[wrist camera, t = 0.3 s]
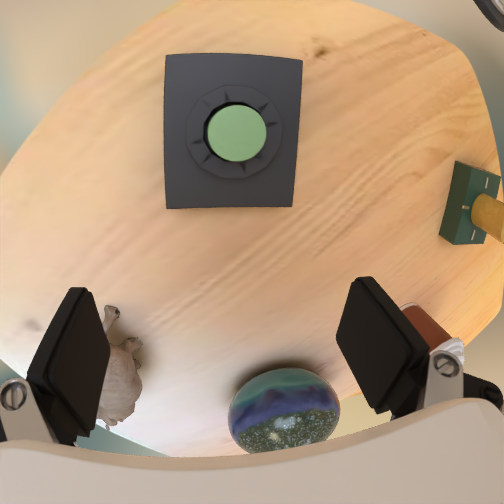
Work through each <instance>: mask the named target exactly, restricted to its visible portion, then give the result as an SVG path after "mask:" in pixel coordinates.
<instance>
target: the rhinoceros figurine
mask: <svg viewBox="0 0 504 504" xmlns="http://www.w3.org/2000/svg"><path fill="white" fill-rule="evenodd" d="M115 309H117V308H115V307H108V306H107V305H106V306H105V308H104V310H105V320H104V322H103V323H102V325H103V328H104V331H105V334H106V337H107V333H108V332H109V330H110V328H111V325H112V323H113V322H114V320H115V319H116V318H119V313H120V312H119V310H118V314H115ZM109 345H110V349H111V354H110V359H109V363H108V367H107V371H106V375H105V379H104V383H103V388H102V392H101V397H100V402H99V407H98V412H97V417H96V419H101V418H102V420H103V421H104V422H105V423H106V424H108V425H110V426H114V425H117V421H120V422H123V420H124V419H126V418H127V417H128V416H130V415H131V414H132V413H133V412H134V408H135V402H136V401H137V399H138V398H139V396H140V394H141V391H142V382H141V379H140V377H139V375H138V374H137V373H136V369H139V368H140V367H141V366H140V365H139V363H138V361H137V360H136V359H135V360H133V357H132V353H133V352H134V351H135V350H138V349H140V348H141V345H143V344H142V342H141V341H140V340H138V337H137V338H128V339H127V340H125V341H124V342H123V343H122V345H121V346H120V347H117V346H115V345H112V344H110V343H109ZM108 425H106V429H107V430H108V431H109V430H110V429H109V426H108Z"/></svg>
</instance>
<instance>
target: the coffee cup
mask: <svg viewBox="0 0 504 504" xmlns="http://www.w3.org/2000/svg"><path fill="white" fill-rule="evenodd" d="M399 309H400V310H401V311H402V312H403V313H404V315H405V316H406V317H407V318H408V320H409V321H410V322H411V323H412V325H413V326H414V327H415V328H416V330H417V331H418V332H419V333H420V335H421V336H422V337H423V338H424V340H425V341H426V342H427V344H428V345H429V346H430V347H431V348H430V350H429V351H428V353H429V354H430V355H431V354H432V353H433V352H435V351H437V350H445V351H448V352H450V353H452V354H454V355H455V356H456V357H457V358H458V359H459V360H460V362H461V364H462V366H463V364H464V360H465V356H464V355H463V349H464V343H463V342H462V340H461V339H460V338H459V337H458V338H452V337H451V336H450V335H449V334H448V333H447V332H446V331H445V330H444V329H443V328H442V327H441V326H440V325H439V324H438V323H436V322H435V321H434V320H433V319H432V318H431V317H430V316H429V315H428V314H427V313H426V312H425V311H424V310H423V309H421V308H420V306H419V305H417V304H416V303H408V304H406V305H403V306H402V307H400V308H399Z"/></svg>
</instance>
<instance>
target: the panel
mask: <svg viewBox="0 0 504 504" xmlns="http://www.w3.org/2000/svg"><path fill="white" fill-rule="evenodd" d="M500 179H501V177H500V176H498V175H496V174H494V173H491V172H489V171H486V170H484V169H481V168H478V167H474V166H471V165H468V164H465V163H462V162H458V161H455V166H454V172H453V177H452V183H451V187H450V192H449V197H448V201H447V205H446V209H445V213H444V217H443V221H442V225H441V229H440V232H439V235H440V236H442V237H443V238H444V239H446V240H447V241H449V242H450V243H451V244H453V245H458V244H484V241H485V237H486V234H487V233H486V232H485V231H483V230H482V229H480V228H479V227H477V226H476V225H474V224H473V223H472V220H471V210H472V206H473V203H474V201H475V199H476V198H477V197H478V196H479V195H480V194H482V193H485V194H487V195H489V196H491V197H493V198H495V199H496V198H497V193H498V189H499V184H500Z"/></svg>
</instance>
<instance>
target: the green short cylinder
mask: <svg viewBox="0 0 504 504" xmlns="http://www.w3.org/2000/svg"><path fill="white" fill-rule="evenodd" d="M265 140H266V126H265V123H264V121H263V119H262V117H261V116H260V115H259V114H258V113H257V112H256V111H255V110H253V109H251V108H249V107H247V106H242V105H233V106H229V107H226V108H223V109H221V110H220V111H218V112H217V113H216V114H215V115H214V116H213V117H212V119H211V120H210V122H209V125H208V141H209V144H210V146H211V148H212V149H213V151H214V152H215V153H216V154H217V155H218V156H220V157H221V158H223V159H226V160H229V161H236V162H237V161H244V160H247V159H250V158H252V157H253V156H255V155H256V154H257V153H258V152H259V151H260V150H261V148H262V147H263V145H264V143H265Z"/></svg>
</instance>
